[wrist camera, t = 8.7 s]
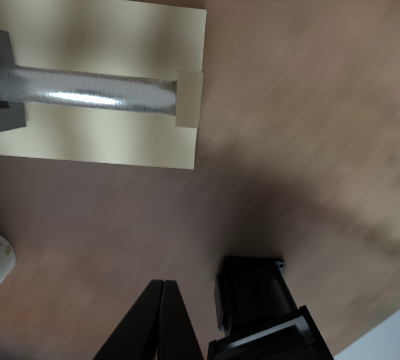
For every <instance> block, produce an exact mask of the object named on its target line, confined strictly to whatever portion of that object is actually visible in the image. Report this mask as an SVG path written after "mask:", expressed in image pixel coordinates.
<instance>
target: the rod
mask: <svg viewBox="0 0 400 360" xmlns="http://www.w3.org/2000/svg"><path fill="white" fill-rule="evenodd" d="M176 97H177V81H173V80H163V79H153V78H142V77H132V76H122V75H112V74H101V73H91V72H81V71H71V70H60V69H50V68H40V67H29V66H19V65H9V64H0V101H10V102H22V103H33V104H45V105H56V106H67V107H79V108H90V109H101V110H113V111H124V112H135V113H147V114H158V115H169V116H176Z"/></svg>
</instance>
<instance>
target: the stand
mask: <svg viewBox="0 0 400 360" xmlns="http://www.w3.org/2000/svg"><path fill="white" fill-rule="evenodd" d="M206 12H207V10H204V9H195V8H187V7H178V6H169V5H161V4H152V3H144V2H135V1H127V0H0V29H1V30H4V31H7V32H9V37H10V42H11V47H12V52H13V58H14V63H15V65H19V66H29V67H40V68H50V69H60V70H71V71H81V72H91V73H101V74H112V75H122V76H132V77H142V78H153V79H163V80H173V81H177V97H176V116H169V115H158V114H147V113H135V112H124V111H113V110H101V109H90V108H79V107H67V106H56V105H45V104H33V103H22V104H23V110H24V115H25V120H26V125H27V127H23V128H18V129H13V130H9V131H4V132H0V155H8V156H21V157H34V158H48V159H61V160H75V161H88V162H101V163H115V164H128V165H142V166H155V167H169V168H182V169H194V158H195V145H196V133H197V129H199V121H200V109H201V98H202V86H203V74H204V73H201V72H202V60H203V48H204V36H205V24H206Z"/></svg>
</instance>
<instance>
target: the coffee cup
mask: <svg viewBox="0 0 400 360" xmlns="http://www.w3.org/2000/svg"><path fill="white" fill-rule="evenodd" d="M15 261H16V256H15V252H14V250H13V248H12V246H11V245H10V243H9V242H8V241H7V240H6V239H5V238H3V237H2V236H1V235H0V283H1V282H2V281H3V279H4V278H5V277H6V276H7V275H8V273H9V272H10V271H11V270H12V268H13V267H14V265H15Z"/></svg>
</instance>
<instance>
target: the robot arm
mask: <svg viewBox="0 0 400 360" xmlns="http://www.w3.org/2000/svg"><path fill="white" fill-rule="evenodd" d="M227 261H229V262H227ZM280 264H281V265H280ZM285 268H286V264H285V262H284V260H283V259H269V258H250V257H231V256H227V257H224V258H223V261H222V267H221V274H219V275H218V276H217V279H216V285H215V292H214V295H215V305H216V314H217V324H218V329H219V330H220V331H224V332H225V338H222V339H220V340H217V341H216V340H214V341H211V342H209V348H208V356H207V360H334V359H333V357H332V355H331V353H330V351H329V349H328V347H327V345H326V343H325V341H324V340H323V338H322V336H321V334H320V332H319V330H318V328H317V326H316V324H315V322H314V320H313V319H312V317H311V315H310V313H309V311H308V309H307V307H306V305H304V306H301V307H299V308H300V309H298V308H297V306H296V304H295V301H294V299H293V297H292V295H291V293H290V291H289V289H288V287H287V285H286V283H285V281H284V279H283V274H284V271H285ZM156 354H157V360H204V358H203V355H202V352H201V349H200V347H199V344H198V341H197V338H196V335H195V333H194V330H193V327H192V324H191V321H190V318H189V316H188V313H187V310H186V307H185V304H184V302H183V299H182V296H181V293H180V290H179V288H178V285H177V282H176V281H175V280H165V281H163V280H155V279H153V280H151V282H150V283H149V284H148V286H147V287H146V288H145V290H144V291H143V292H142V294H141V295H140V296H139V298H138V299H137V300H136V302H135V303H134V304H133V306H132V307H131V308H130V310H129V311H128V312H127V314H126V315H125V316H124V318H123V319H122V320H121V322H120V323H119V324H118V326H117V327H116V328H115V330H114V331H113V332H112V334H111V335H110V337H109V338H108V339H107V341H106V342H105V343H104V345H103V346H102V347H101V349H100V350H99V351H98V353H97V354H96V355H95V357H94V358H93V359H92V360H155V359H156Z"/></svg>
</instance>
